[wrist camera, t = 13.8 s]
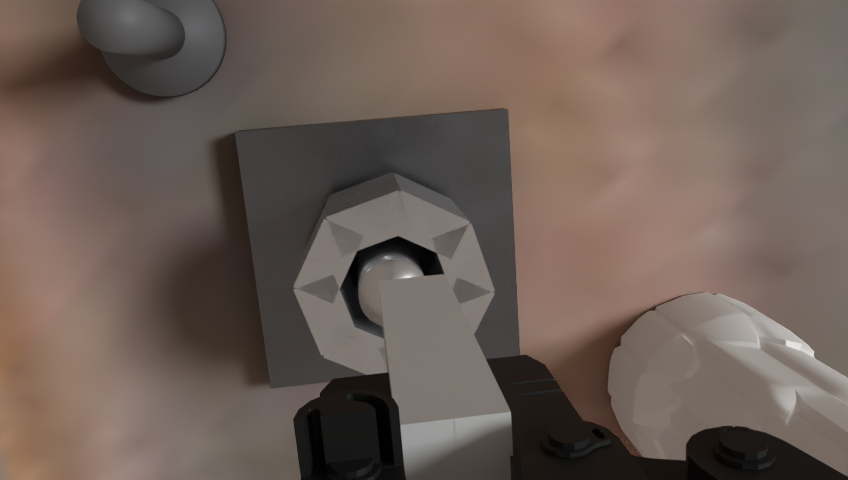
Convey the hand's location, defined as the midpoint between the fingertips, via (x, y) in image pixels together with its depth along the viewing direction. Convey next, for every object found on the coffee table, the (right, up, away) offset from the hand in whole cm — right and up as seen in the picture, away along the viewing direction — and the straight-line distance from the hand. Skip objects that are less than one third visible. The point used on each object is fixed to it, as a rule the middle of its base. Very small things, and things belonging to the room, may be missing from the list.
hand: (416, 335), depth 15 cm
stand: (-13, +12, +19) cm, 26 cm away
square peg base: (-2, +2, +22) cm, 23 cm away
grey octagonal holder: (-2, +1, +19) cm, 20 cm away
